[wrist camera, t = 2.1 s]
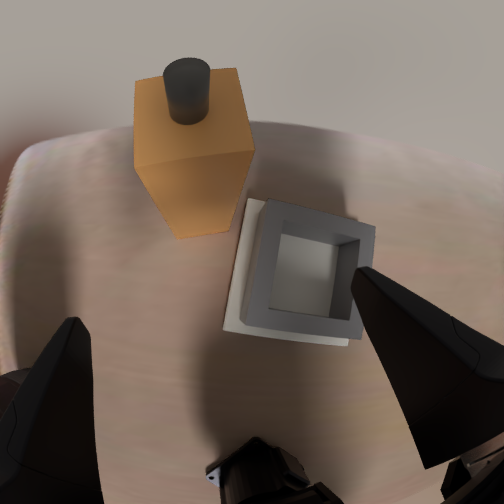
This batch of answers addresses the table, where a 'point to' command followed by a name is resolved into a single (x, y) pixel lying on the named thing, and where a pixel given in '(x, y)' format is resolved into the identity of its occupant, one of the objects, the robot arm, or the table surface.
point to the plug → (192, 145)
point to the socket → (297, 274)
